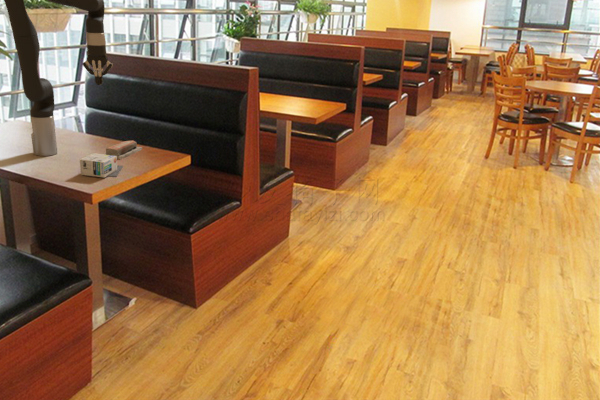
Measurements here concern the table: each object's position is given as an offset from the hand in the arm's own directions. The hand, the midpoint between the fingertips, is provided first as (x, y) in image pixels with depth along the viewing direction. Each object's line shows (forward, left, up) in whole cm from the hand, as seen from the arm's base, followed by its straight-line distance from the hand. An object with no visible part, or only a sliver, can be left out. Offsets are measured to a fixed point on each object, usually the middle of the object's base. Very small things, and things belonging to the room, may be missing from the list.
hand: (99, 84), depth 243 cm
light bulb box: (-2, -24, -28) cm, 37 cm away
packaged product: (+7, +5, -33) cm, 34 cm away
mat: (+5, -22, -32) cm, 39 cm away
